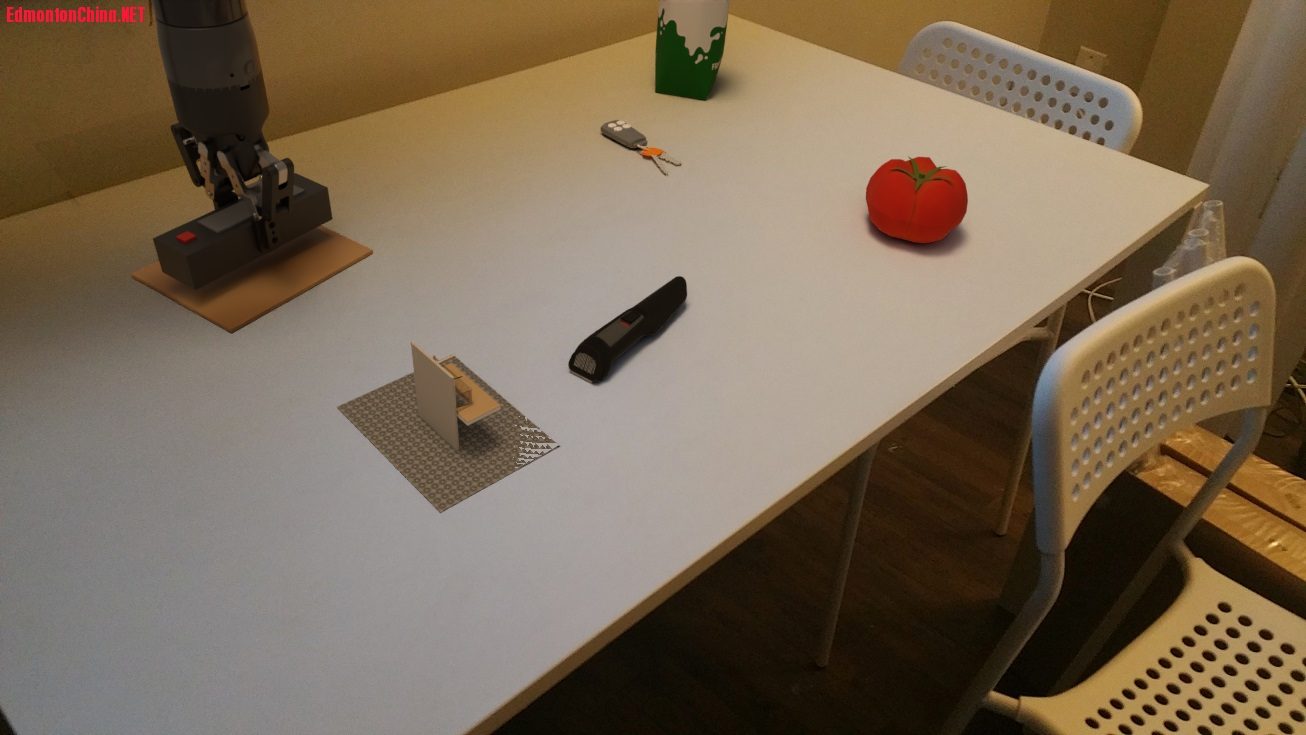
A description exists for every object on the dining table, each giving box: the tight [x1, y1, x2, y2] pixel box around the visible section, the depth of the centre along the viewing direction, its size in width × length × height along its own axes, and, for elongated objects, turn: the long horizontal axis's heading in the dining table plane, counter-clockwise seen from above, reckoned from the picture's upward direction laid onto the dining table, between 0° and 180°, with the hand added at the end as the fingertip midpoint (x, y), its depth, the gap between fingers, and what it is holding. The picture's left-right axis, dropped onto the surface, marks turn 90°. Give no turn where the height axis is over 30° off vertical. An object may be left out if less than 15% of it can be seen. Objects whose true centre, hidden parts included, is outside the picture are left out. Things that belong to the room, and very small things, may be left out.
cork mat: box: [130, 224, 374, 334], centre depth 95 cm, size 14×17×1 cm
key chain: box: [600, 119, 683, 175], centre depth 119 cm, size 13×4×2 cm, turn 41°
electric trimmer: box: [567, 275, 688, 384], centre depth 90 cm, size 4×16×3 cm, turn 145°
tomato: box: [865, 156, 969, 244], centre depth 108 cm, size 11×11×8 cm
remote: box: [152, 172, 333, 290], centre depth 93 cm, size 16×5×4 cm, turn 147°
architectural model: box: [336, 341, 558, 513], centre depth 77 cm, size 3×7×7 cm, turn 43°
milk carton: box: [654, 0, 731, 101], centre depth 129 cm, size 9×9×20 cm
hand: (251, 239), depth 94 cm, fingers closed on remote, 4 cm apart
